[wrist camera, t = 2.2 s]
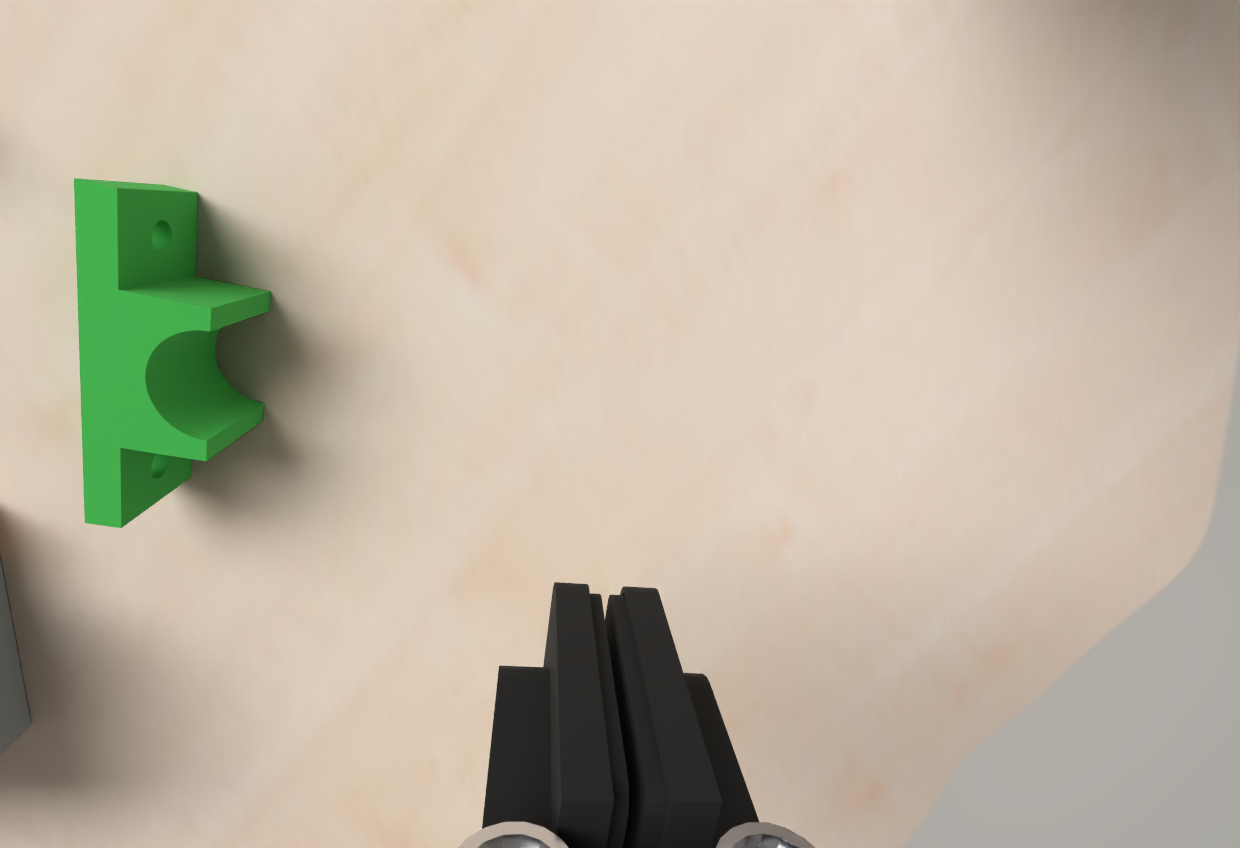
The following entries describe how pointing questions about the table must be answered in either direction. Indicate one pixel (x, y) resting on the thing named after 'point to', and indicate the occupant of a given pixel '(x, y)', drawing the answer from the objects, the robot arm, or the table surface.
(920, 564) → the table surface
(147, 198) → the pipe clamp
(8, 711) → the orange and grey frame
